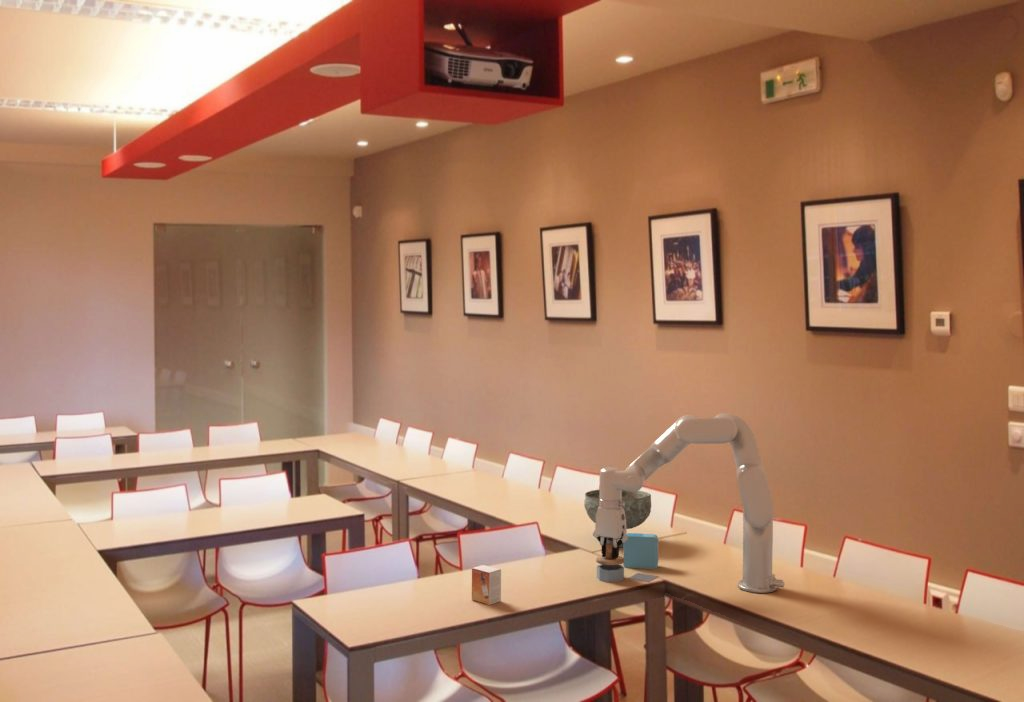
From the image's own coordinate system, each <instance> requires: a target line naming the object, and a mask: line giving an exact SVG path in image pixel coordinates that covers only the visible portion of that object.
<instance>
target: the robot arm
mask: <svg viewBox="0 0 1024 702" xmlns="http://www.w3.org/2000/svg"><path fill="white" fill-rule="evenodd" d="M727 443H729V445H730V447H731V451H732V456H733V459H734V465H735V469H736V470H735V471H736V481H737V486H738V491H739V495H740V499H741V505H742V521H743V523H742V525H743V526H742V529H743V531H742V534H743V535H742V536H743V538H742V580H738V582H737V587H738V588H739V589H740V590H742V591H746V592H749V593H756V594H757V593H758V594H764V593H765V594H766V593H771V592H775V591H776V590H777V589H778V587H779V588H784V587H785V581H784V580H783V579H777V577H776V574H774V573H773V548H774V547H773V546H774V545H773V543H774V541H773V540H774V534H773V533H774V525H773V521H774V520H775V513H776V512H775V508H774V503H773V498H772V493H771V487H770V484H769V480H768V476H767V473H766V470H765V468H764V466H763V462H762V457H761V453H760V450H759V445H758V442H757V438H756V436H755V432H754V431H753V429H752V428H751V426H750V425H749V424H748V422H746V420H744V418H741V417H739V416H738V415H736V414H732V413H727V412H722V413H718V414H716V415H715V416H714V417H697V416H695V415H694V414H690V413H689V414H688V413H687V414H684V415H682V416H681V417H678V419H677V420H676V421H675V422H674V423H672V424H671V425H670V427H669V428H668V429H666V430H665V431H664V432H663V433H662V434H661V435H660V436H659V437H658V438H657V439H655V440H654V442H652V444H650V446H648V448H646V449H645V450H644V452H642V453H641V454H640V455H639V456H638V457H637V458H636V459H635V460H634V461H632V463H631V464H629V466H627V467H626V469H625V470H621V469H620V468H619V467H613V466H612V467H611V466H608V467H603V468H601V469H600V470H599V490H600V501H599V507H598V509H597V514H596V523H594V524H595V525H594V526H595V527H594V531H593V532H592V536H593V537H594V538H595V539H597V541H598V542H599V545H600V546H601V555H602V557H606V543H607V538H613V544H614V547H613V548H612V558H613V559H616V558H618V556H620V547H619V546H620V545H621V544H622V543H623V542H625V541H627V540H628V537H627V535H626V534H627V533H628V532H627V530H628V529H626V517H625V512H624V508H622V506H625V503H624V502H622V490H624V491H629V492H636V491H641V489H642V488H643V486H644V483H645V481H646V480H648V478H650V476H652V475H653V473H655V472H656V471H657V470H658V469H659V468H661V467H662V466H664V465H667V464H669V463H670V462H672V461H673V460H674V459H675V458H676V457H677V456H679V455H680V454H681V452H683V451H684V450H685V449H686V448H687V447H688V446H689V445H690V444H698V445H699V444H700V445H703V444H705V445H706V444H709V445H710V444H712V445H713V444H727ZM621 537H622V539H621V540H620V538H621Z"/></svg>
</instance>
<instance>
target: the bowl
mask: <svg viewBox="0 0 1024 702" xmlns="http://www.w3.org/2000/svg"><path fill="white" fill-rule="evenodd" d="M596 578H597V580H599V581H600V582H606V583H619V582H621V581H623V580H625V567H624V565H622V564H619V565H604V564H600V563H599V564H598V565H596Z"/></svg>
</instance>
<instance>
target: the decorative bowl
mask: <svg viewBox="0 0 1024 702" xmlns="http://www.w3.org/2000/svg"><path fill="white" fill-rule="evenodd" d="M651 494H652V493H649V492H647V491H643V490H642V491H641V490H638V491H636V492H629V491H624V490H622V502H624V503H625V506H622V508H624V512H625V517H626V529H627V530H630V529H634V528H636V527H639V526H640V525H642V524H643V523H644V522H645V521H646V520H647V519H648V518H649V517H650V514H651V512H652V495H651ZM584 497H585V498H584V500H583V501H584V504H583V505H584V509H585V511H586V514H587V516H588V518H589V519H590V520H591V522H593V523H594V524H595V523H596V514H597V509H598V507H599V501H600V489H594V490H589V491H587V492H585V493H584ZM621 539H622V537H621V538H620V540H621ZM607 543H613V538H607ZM619 548H623V543H622V544H621V545H620V546H619Z"/></svg>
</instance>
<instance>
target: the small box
mask: <svg viewBox="0 0 1024 702" xmlns="http://www.w3.org/2000/svg"><path fill="white" fill-rule="evenodd" d="M501 594H502V569H501V568H496V567H492V566H489V565H485V564H481V565H478V566H475V567H472V568H471V600H472V601H475V602H478V603H482V604H485V605H487V606H490V605H493V604H497V603H499V602H501V600H502V595H501Z"/></svg>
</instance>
